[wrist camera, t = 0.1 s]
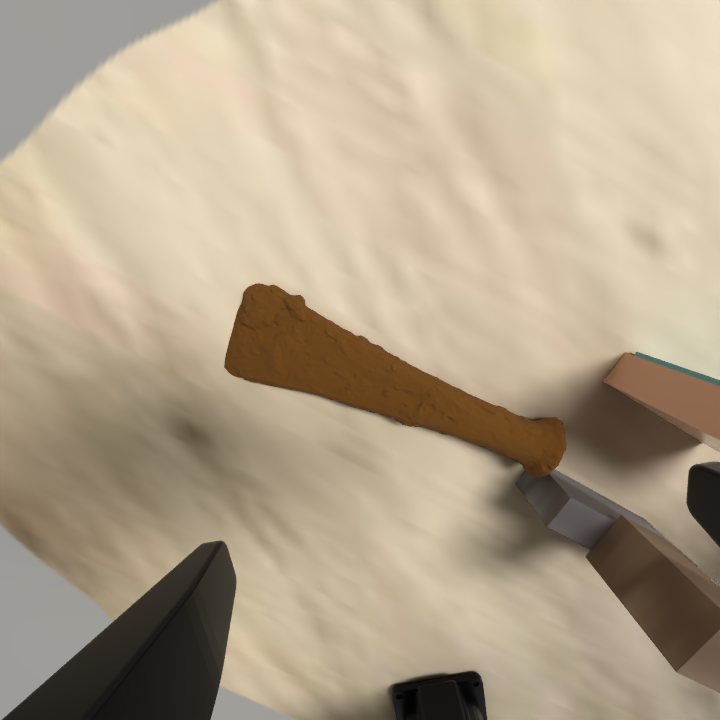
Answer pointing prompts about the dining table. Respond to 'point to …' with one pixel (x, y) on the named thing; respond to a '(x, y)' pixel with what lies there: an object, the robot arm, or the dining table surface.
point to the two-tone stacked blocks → (638, 572)
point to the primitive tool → (374, 379)
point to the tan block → (671, 394)
